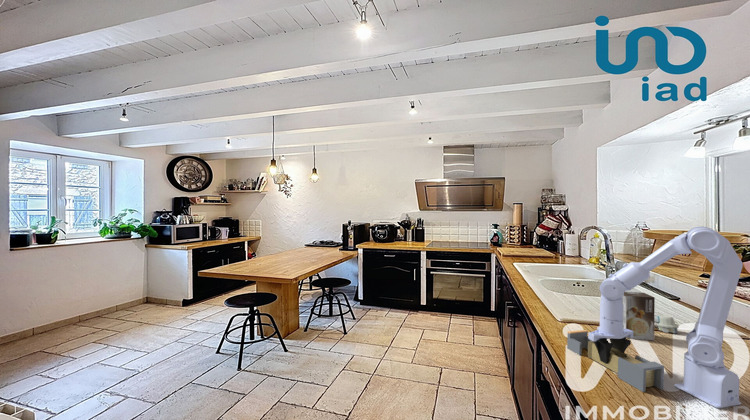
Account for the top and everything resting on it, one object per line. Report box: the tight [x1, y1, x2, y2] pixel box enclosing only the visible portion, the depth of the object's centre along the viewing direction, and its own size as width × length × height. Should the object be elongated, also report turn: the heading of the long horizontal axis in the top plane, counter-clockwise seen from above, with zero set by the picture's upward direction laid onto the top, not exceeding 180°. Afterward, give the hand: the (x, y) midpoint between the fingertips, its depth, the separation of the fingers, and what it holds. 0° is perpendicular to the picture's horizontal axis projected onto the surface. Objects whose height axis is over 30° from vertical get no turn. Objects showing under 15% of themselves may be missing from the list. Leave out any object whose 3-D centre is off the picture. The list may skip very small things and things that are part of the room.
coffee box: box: [623, 291, 656, 341], centre depth 116 cm, size 9×6×16 cm
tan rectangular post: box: [587, 341, 655, 388], centre depth 92 cm, size 17×4×5 cm, turn 11°
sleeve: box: [617, 355, 665, 393], centre depth 86 cm, size 7×7×6 cm
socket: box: [566, 329, 592, 356], centre depth 105 cm, size 5×7×6 cm
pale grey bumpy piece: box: [654, 314, 679, 334], centre depth 129 cm, size 5×7×25 cm
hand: (610, 361), depth 95 cm, fingers closed on tan rectangular post, 4 cm apart
